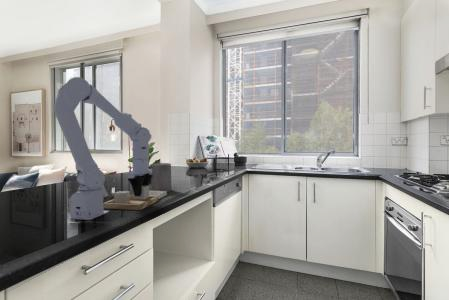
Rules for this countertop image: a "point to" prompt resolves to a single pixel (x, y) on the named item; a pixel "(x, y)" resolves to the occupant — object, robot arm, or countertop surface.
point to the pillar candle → (161, 177)
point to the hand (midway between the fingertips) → (140, 194)
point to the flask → (104, 192)
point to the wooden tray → (132, 203)
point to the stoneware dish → (157, 193)
